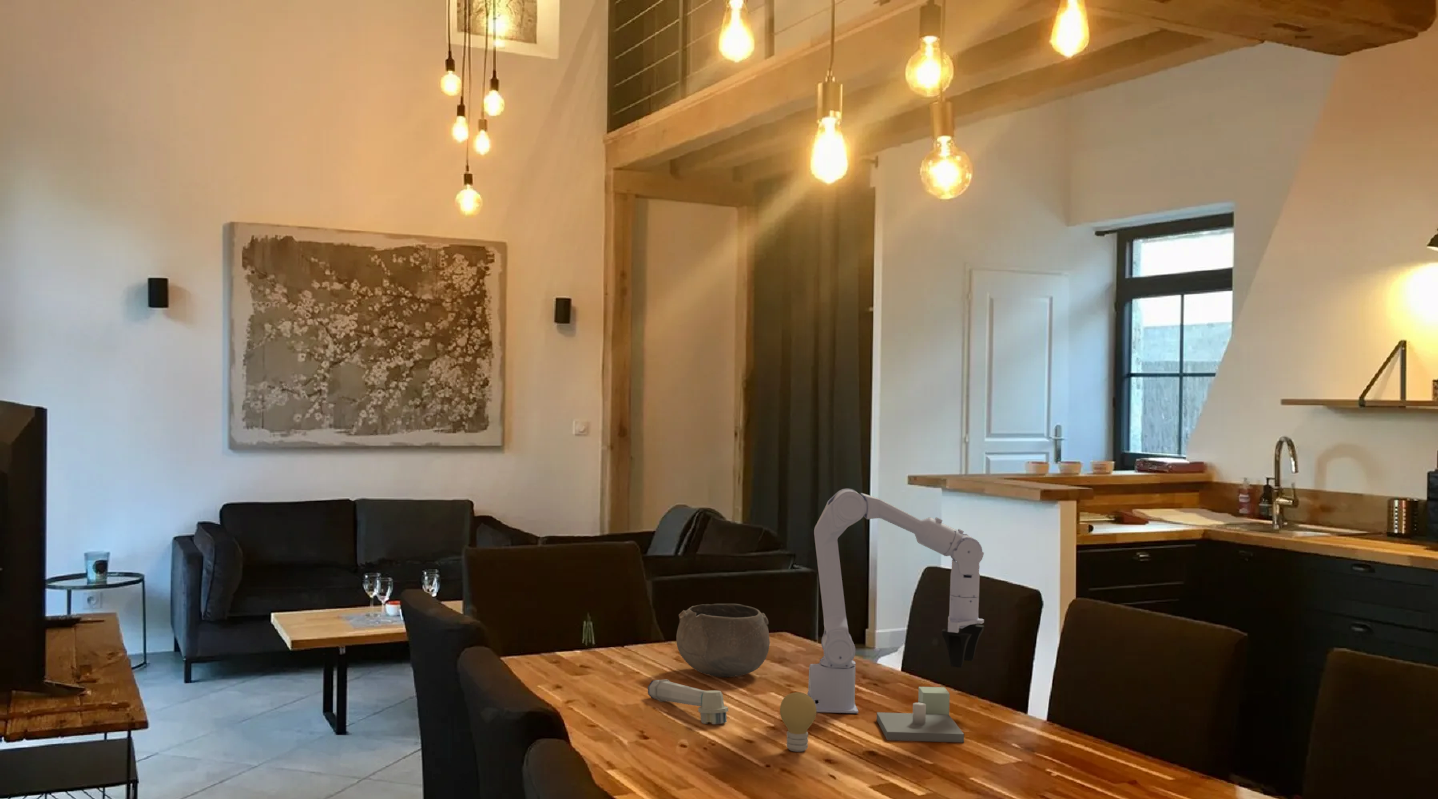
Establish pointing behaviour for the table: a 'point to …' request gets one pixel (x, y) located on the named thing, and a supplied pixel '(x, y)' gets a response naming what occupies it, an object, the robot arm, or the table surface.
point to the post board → (919, 726)
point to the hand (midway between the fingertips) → (962, 663)
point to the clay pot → (723, 639)
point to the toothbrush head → (691, 699)
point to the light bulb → (797, 719)
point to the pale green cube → (934, 699)
